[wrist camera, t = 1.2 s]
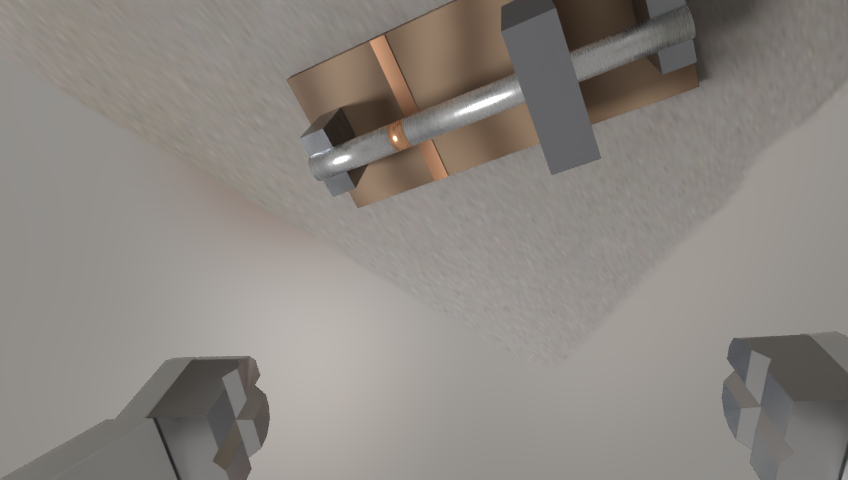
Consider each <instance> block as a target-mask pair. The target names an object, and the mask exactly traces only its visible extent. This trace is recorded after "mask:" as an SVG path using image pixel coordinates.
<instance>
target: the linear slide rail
mask: <svg viewBox="0 0 848 480" xmlns="http://www.w3.org/2000/svg"><path fill="white" fill-rule="evenodd" d="M631 2H632V6H633V10H634V14H635V18H636V23H637V24H635V25H633V26H630V27H628V28H625V29H623V30H621V31H618V32H616V33H613V34H611V35H608V36H606V37H603V38H601V39H598V40H596V41H593V42H591V43H588V44H586V45H583V46H581V47H579V48H576V49H574V50H571V51H569V53H570V57H571V60H572V63H573V67H574V70H575V73H576V76H577V80H578V83H579V82H581V81H584V80H587V79H589V78H592V77H594V76H597V75H600V74H602V73H605V72H607V71H610V70H613V69H615V68H618V67H620V66H623V65H626V64H628V63H631V62H633V61H636V60H639V59H641V58H644V57H646V58H647V59H648V60H649V61H650V62H651V63H652V64H653V65H654V66H655V67H656V68H657V69H658V70H659V71H660V72H661V73H662V74H666V73H669V72H671V71H674V70H677V69H679V68H682V67H685V66H688V65H690V64H693V63H696V62H697V58H696V53H695V48H694V43H693V38H695V34H696V31H695V24H694V19H693V16H692V13H691V11H690V9H689V7H688V6H687V5H686V1H685V0H631ZM524 103H526V101H525V98H524V96H523V93H522V90H521V87H520V84H519V81H518V79H517V76H516V73H514V74H512V75H509V76H507V77H504V78H502V79H500V80H497V81H495V82H492V83H490V84H487V85H485V86H482V87H480V88H477V89H475V90H472V91H470V92H467V93H465V94H462V95H460V96H458V97H455V98H453V99H450V100H448V101H445V102H443V103H440V104H438V105H435V106H433V107H430V108H428V109H425V110H423V111H421V112H418V113H416V114H413V115H411V116H408V117H406V118H403V119H401V120H398V121H396V122H393V123H391V124H388V125H386V126H383V127H381V128H379V129H376V130H374V131H371V132H369V133H366V134H364V135H361V136H359V137H356V135H355V133H354V131H353V129H352V127H351V125H350V123H349V121H348V119H347V117H346V116H345V114H344V112H343V110H342V108H341V107H339V108H337V109H335V110H333V111H330V112H328V113H326V114H323V115H321V116H319V117H318V118H317V119H316V121H315V122H314V123H313V124H312V125H311V126H310V127H309V128H308V130H307V131H306V132H305V133H304V134H303V135H302V136H301V137H300V138H299V139H300V141H301V142H302V144H303V146H304V148H305V149H306V151H307V153H308V154H309V156H310V157H309V167H310V170H311V172H312V174H313V176H314V177H315V178H316V179H317V180H318V181H324V182H325V184H326V186H327V187H328V189H329V191H330V193H331V194H332V196H333V197H334V196H336V195H339V194H342V193H345V192H347V191H350V190H353V189H355V188H356V187H357V185H358V183H359V181H360V179H361V177H362V175H363V174H364V172H365V170H366V168H367V166H368V164H369V163H370V162H373V161H376V160H378V159H381V158H384V157H386V156H389V155H391V154H394V153H397V152H399V151H402V150H404V149H407V148H410V147H412V146H415V145H417V144H420V143H423V142H425V141H428V140H430V139H433V138H436V137H438V136H441V135H443V134H446V133H449V132H451V131H454V130H456V129H459V128H462V127H464V126H467V125H469V124H472V123H475V122H477V121H480V120H482V119H485V118H488V117H490V116H493V115H495V114H498V113H501V112H503V111H506V110H508V109H511V108H514V107H516V106H519V105H521V104H524Z"/></svg>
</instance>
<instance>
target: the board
mask: <svg viewBox="0 0 848 480" xmlns="http://www.w3.org/2000/svg"><path fill="white" fill-rule="evenodd" d="M512 1H515V0H454V1H451V2H449V3H447V4H445V5H443V6H441V7H439V8H436V9H434V10H432V11H430V12H428V13H426V14H424V15H422V16H419V17H417V18H415V19H413V20H411V21H409V22H407V23H404V24H402V25H400V26H398V27H396V28H394V29H392V30H389V31H387V32H385V33H383V34H381V35H379V36H377V37H374V38H372V39H370V40H368V41H366V42H364V43H362V44H359V45H357V46H355V47H353V48H351V49H349V50H347V51H344V52H342V53H340V54H338V55H336V56H334V57H332V58H330V59H327V60H325V61H323V62H321V63H319V64H317V65H315V66H312V67H310V68H308V69H306V70H304V71H302V72H300V73H297V74H295V75H293V76H291V77H290V78H288V79H287V82H288V84H289V85H290V87H291V89H292V91H293V93H294V94H295V96H296V98H297V100H298V102H299V103H300V105H301V107H302V109H303V111H304V112H305V114H306V116H307V118H308V119H309V121H310V123H311V125H312V124H313V123H314V122H315V121H316V119H317V118H318V117H319V116H321V115H323V114H326V113H328V112H330V111H333V110H335V109H337V108H339V107H341V108H342V110H343V112H344V114H345V116H346V117H347V119H348V121H349V123H350V125H351V127H352V129H353V131H354V133H355V135H356V137H359V136H361V135H364V134H366V133H369V132H371V131H374V130H376V129H379V128H381V127H383V126H386V125H388V124H391V123H393V122H396V121H398V120H401V119H403V118H406V117H408V116H411V115H413V114H416V113H418V112H421V111H423V110H425V109H428V108H430V107H433V106H435V105H438V104H440V103H443V102H445V101H448V100H450V99H453V98H455V97H458V96H460V95H462V94H465V93H467V92H470V91H472V90H475V89H477V88H480V87H482V86H485V85H487V84H490V83H492V82H495V81H497V80H500V79H502V78H504V77H507V76H509V75H512V74H514V73H515V70H514V67H513V64H512V62H511V59H510V56H509V53H508V50H507V47H506V45H505V42H504V39H503V36H502V33H501V6H503V5H506V4H508V3H510V2H512ZM552 2H553V4H554V5H555V7H556V10H557V13H558V17H559V20H560V23H561V27H562V30H563V33H564V37H565V40H566V43H567V47H568V50H569V51H571V50H574V49H576V48H579V47H581V46H583V45H586V44H588V43H591V42H593V41H596V40H598V39H601V38H603V37H606V36H608V35H611V34H613V33H616V32H618V31H621V30H623V29H625V28H628V27H630V26H633V25H635V24H637V23H636V18H635V14H634V10H633V6H632V2H631V0H552ZM579 86H580V90H581V93H582V96H583V100H584V103H585V106H586V110H587V113H588V116H589V120H590V123H591V125H592V124H595V123H598V122H601V121H604V120H606V119H609V118H612V117H615V116H618V115H620V114H623V113H626V112H629V111H632V110H634V109H637V108H640V107H643V106H646V105H648V104H651V103H654V102H657V101H660V100H662V99H665V98H668V97H671V96H674V95H677V94H679V93H682V92H685V91H688V90H691V89H693V88H696V87H699V82H698V77H697V72H696V67H695V63H693V64H690V65H688V66H685V67H682V68H679V69H677V70H674V71H671V72H669V73H666V74H662V73H661V72H660V71H659V70H658V69H657V68H656V67H655V66H654V65H653V64H652V63H651V62H650V61H649V60H648V59H647V58H646V57H644V58H641V59H639V60H636V61H633V62H631V63H628V64H626V65H623V66H620V67H618V68H615V69H613V70H610V71H607V72H605V73H602V74H600V75H597V76H594V77H592V78H589V79H587V80H584V81H581V82H579ZM539 143H540V141H539V138H538V135H537V132H536V129H535V127H534V124H533V121H532V118H531V115H530V112H529V110H528V107H527V104H526V103H524V104H521V105H519V106H516V107H514V108H511V109H508V110H506V111H503V112H501V113H498V114H495V115H493V116H490V117H488V118H485V119H482V120H480V121H477V122H475V123H472V124H469V125H467V126H464V127H462V128H459V129H456V130H454V131H451V132H449V133H446V134H443V135H441V136H438V137H436V138H433V139H430V140H428V141H425V142H423V143H420V144H417V145H415V146H412V147H410V148H407V149H404V150H402V151H399V152H397V153H394V154H391V155H389V156H386V157H384V158H381V159H378V160H376V161H373V162H370V163H369V164H368V166H367V168H366V170H365V172H364V174H363V175H362V177H361V179H360V181H359V183H358V185H357V187H356V188H355V189H353V190H350V191H349V193H350V195H351V197H352V198H353V200H354V202H355V204H356V206H357V207H358V208H359V207H362V206H365V205H368V204H371V203H373V202H376V201H379V200H382V199H385V198H387V197H390V196H393V195H396V194H399V193H402V192H404V191H407V190H410V189H413V188H416V187H418V186H421V185H424V184H427V183H430V182H432V181H436V180H439V179H442V178H445V177H448V176H449V175H452V174H455V173H458V172H460V171H463V170H466V169H469V168H472V167H474V166H477V165H480V164H483V163H486V162H489V161H491V160H494V159H497V158H500V157H503V156H505V155H508V154H511V153H514V152H517V151H519V150H522V149H525V148H528V147H531V146H533V145H536V144H539Z"/></svg>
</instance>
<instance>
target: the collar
mask: <svg viewBox="0 0 848 480" xmlns="http://www.w3.org/2000/svg"><path fill="white" fill-rule="evenodd" d="M501 33H502V36H503V39H504V42H505V45H506V47H507V50H508V53H509V56H510V59H511V62H512V64H513V67H514V70H515V73H516V76H517V79H518V81H519V84H520V87H521V90H522V93H523V96H524V98H525V101H526V104H527V107H528V110H529V112H530V115H531V118H532V121H533V124H534V127H535V129H536V132H537V135H538V138H539V141H540V144H541V146H542V149H543V152H544V155H545V158H546V161H547V163H548V166H549V169H550V172H551V175H553V174H556V173H559V172H562V171H565V170H568V169H571V168H574V167H577V166H580V165H583V164H586V163H589V162H592V161H595V160H598V159H601V156H600V153H599V150H598V146H597V143H596V140H595V136H594V133H593V130H592V126H591V123H590V120H589V116H588V113H587V110H586V106H585V103H584V100H583V96H582V93H581V90H580V86H579V83H578V80H577V76H576V73H575V70H574V67H573V63H572V60H571V57H570V53H569V50H568V47H567V43H566V40H565V37H564V33H563V30H562V27H561V23H560V20H559V17H558V13H557V10H556V7H555V5H554V4H553V2H552V0H515V1H512V2H510V3H508V4H506V5H503V6H501Z"/></svg>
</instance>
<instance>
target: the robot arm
mask: <svg viewBox="0 0 848 480" xmlns="http://www.w3.org/2000/svg"><path fill="white" fill-rule="evenodd" d="M727 360H728V361H729V363H730V364H731V366H732V367H733V368H734V370H735V371H734V372H733V373H732V374H731V375H730V376H729V377H728V378H727V379H725V380H724V383H723V391H722V403H723V410H724V416H725V418H726V421H727V424H728V426H729V429H730V430H731V432H732V434H733V435H734V437H735V439H736V440H737V441H738V442H740V443H742V444H743V445H745V446H746V447H748V448H749V449H751V450H752V452H751V457H750V464H751V466H752V467H753V469H754V471H755V472H756V474H757V475H758V477H759V479H760V480H848V337H847V336H845V335H843V334H841V333H838V332H823V333H807V334H800V335H787V336H767V337H766V336H765V337H745V338H733V340H732V342H731V344H730V346H729V350H728V356H727ZM259 377H260V373H259V370H258V367H257V363H256V361H255V360H254V359H253V358H251V357H250V356H227V357H226V356H225V357H224V356H223V357H198V358H197V357H184V358H183V357H182V358H172V359H169V360H166V361H165V362H164V363H163V364H162V365H161V366H160V367H159V369H158V370H157V371H156V372H155V373H154V374H153V376H152V377H151V378H150V379H149V380H148V381H147V383H146V384H145V385H144V386H143V387H142V388H141V390H140V391H139V392H138V393H137V394H136V395H135V396H134V398H133V399H132V400H131V401H130V402H129V403H128V405H127V406H126V407H125V408H124V409H123V410H122V412H121V413H120V414H119V415H118V416H117V417H116V419H110V420H105V421H103V422H101V423H99V424H97V425H96V426H94V427H92V428H91V429H89V430H87V431H85V432H83V433H82V434H80V435H78V436H76V437H74V438H72V439H71V440H69V441H67V442H65V443H64V444H62V445H60V446H58V447H56V448H55V449H53V450H51V451H49V452H47V453H46V454H44V455H42V456H40V457H39V458H37V459H35V460H33V461H31V462H30V463H28V464H26V465H24V466H22V467H21V468H19V469H17V470H15V471H13V472H12V473H10V474H8V475H6V476H5V477H3V478H1V479H0V480H247V477H248V475H249V473H250V471H251V465H250V462H249V457H251V456H252V455H253V454H254V453H256V452H257V451H258V450H260V449H261V448H262V445H263V443H264V441H265V439H266V436H267V432H268V427H269V421H270V416H269V415H270V414H269V405H268V401H267V397H266V395H265V394H264V393H263V392H262V391H261V390H260V389H259V388H258V387H256V386H255V384H256V382H257V380H258V378H259Z"/></svg>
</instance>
